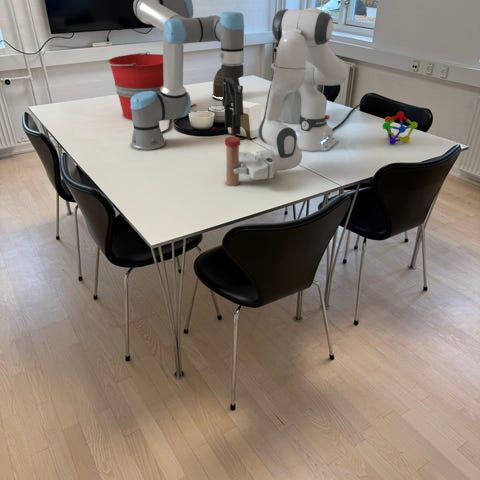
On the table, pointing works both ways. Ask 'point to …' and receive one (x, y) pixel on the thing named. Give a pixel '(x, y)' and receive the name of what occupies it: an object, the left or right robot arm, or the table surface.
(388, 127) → the educational toy
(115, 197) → the table surface
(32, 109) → the table surface
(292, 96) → the bucket
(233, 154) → the jar
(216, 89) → the bell
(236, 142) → the lid
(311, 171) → the table surface
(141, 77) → the bucket
